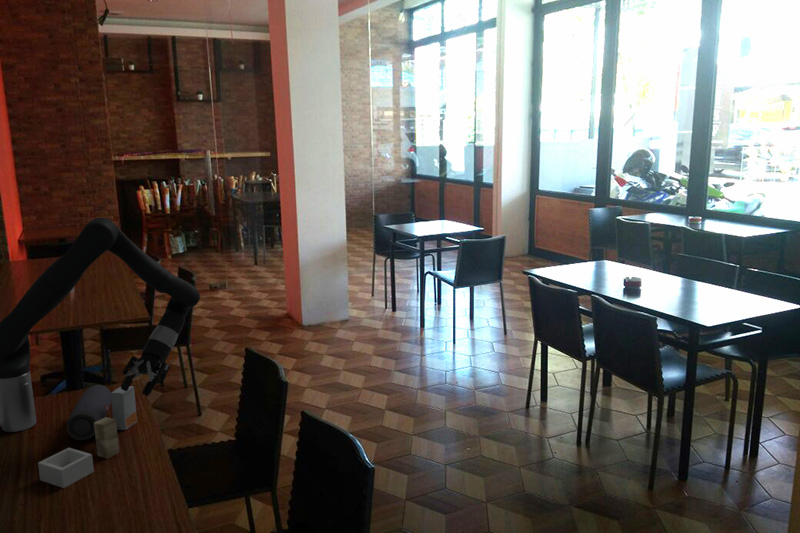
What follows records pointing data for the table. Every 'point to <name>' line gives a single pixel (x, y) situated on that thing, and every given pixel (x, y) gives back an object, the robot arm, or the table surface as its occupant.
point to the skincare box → (124, 407)
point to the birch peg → (106, 437)
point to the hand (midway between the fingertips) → (134, 392)
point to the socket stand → (66, 467)
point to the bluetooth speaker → (89, 412)
